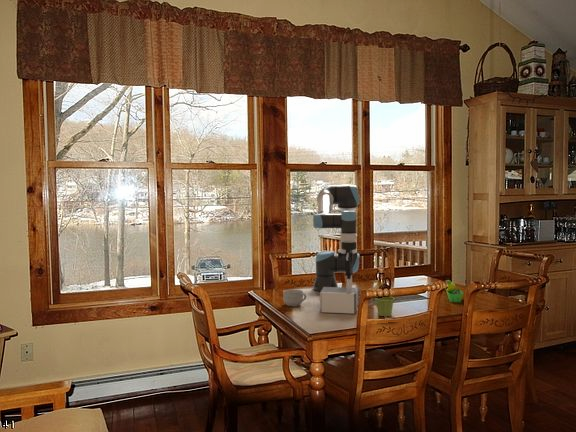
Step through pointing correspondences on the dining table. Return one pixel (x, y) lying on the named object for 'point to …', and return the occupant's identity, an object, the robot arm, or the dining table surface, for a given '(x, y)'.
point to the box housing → (343, 290)
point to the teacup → (293, 297)
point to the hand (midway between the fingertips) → (349, 288)
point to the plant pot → (385, 306)
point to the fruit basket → (453, 292)
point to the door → (337, 301)
